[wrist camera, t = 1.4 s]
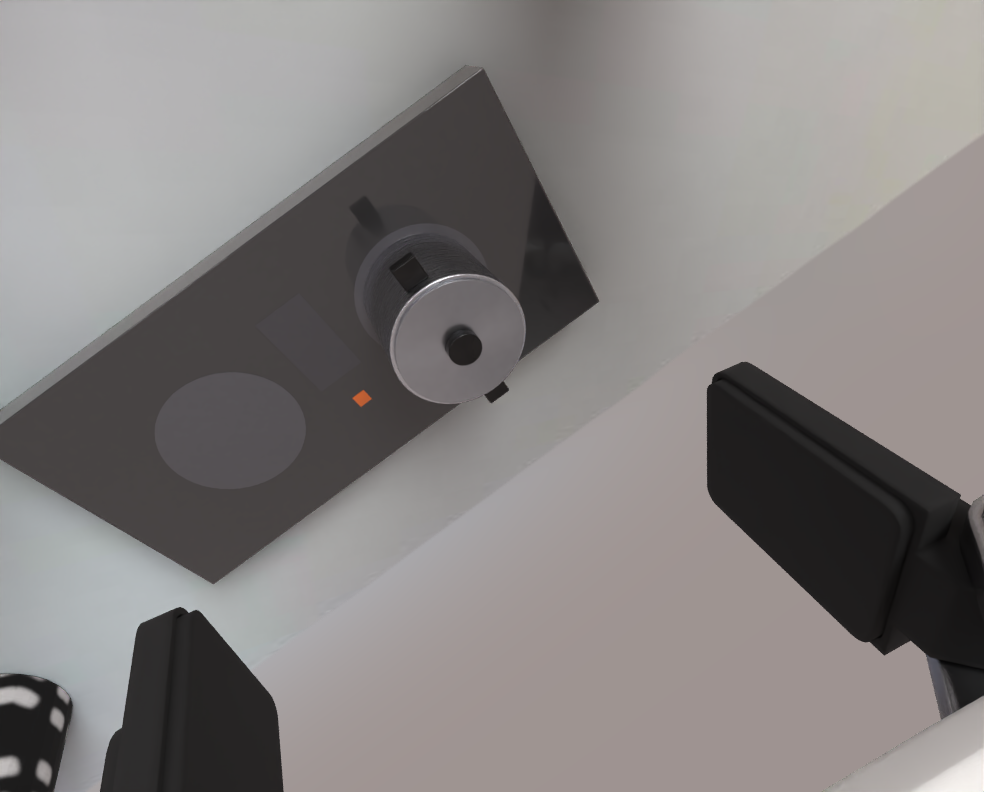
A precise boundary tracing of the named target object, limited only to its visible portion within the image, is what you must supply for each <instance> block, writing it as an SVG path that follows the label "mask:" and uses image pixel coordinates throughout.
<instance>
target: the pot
mask: <svg viewBox="0 0 984 792" xmlns="http://www.w3.org/2000/svg"><path fill="white" fill-rule="evenodd" d="M364 303H365V308H366V312H367V315H368V317H369V319H370V322H371V324H372V326H373V328H374V330H375V332H376V334H377V336H378V338H379V340H380V343H381V345H382V347H383V349H384V351H385V353H386V355H387V357H388V359H389V361H390V364H391V366H392V368H393V370H394V372H395V374H396V376H397V377H398V379H399V380H400V382H401V383H402V384H403V385H404V386H405V387H406V388H407V389H408V390H409V391H410V392H412V393H413V394H414V395H416V396H418V397H420V398H422V399H424V400H427V401H430V402H434V403H440V404H456V403H463V402H467V401H471V400H473V399H476V398H479V397H481V396H483V395H485V397H486V398H487V399H488V401H489V402H490V403H493V402H494V401H495V400H497V399H498V398H499V397H501V396H502V395H503V394H505V393H506V392H508V391H509V388H508V387H507V386H506V384H505V383H504V381H503V380H504V379H505V378H506V377H507V376H508V375H509V374H510V372H511V371H512V370H513V368H514V367H515V365H516V364H517V362H518V360H519V358H520V356H521V353H522V350H523V347H524V342H525V335H526V324H525V317H524V313H523V310H522V307H521V305H520V303H519V301H518V300H517V298H516V297H515V295H514V294H513V293H512V292H511V291H510V290H509V289H508V288H507V287H506V286H505V285H504V284H503V283H502V282H501V281H500V280H499V279H498V278H497V277H496V276H495V275H493V274H492V273H491V272H490V271H489V270H488V269H487V268H486V267H485V266H484V265H483V264H482V263H481V262H480V261H479V260H478V259H476V258H475V257H474V256H473V255H472V254H471V253H470V252H469V251H468V250H467V249H466V248H465V247H464V246H462V245H461V244H460V243H458V242H457V241H455V240H453V239H451V238H448V237H446V236H442V235H438V234H417V235H412V236H409V237H406V238H403V239H401V240H399V241H397V242H395V243H394V244H392V245H391V246H389V247H388V248H387V249H386V250H385V251H383V253H382V254H381V255H380V256H379V257H378V258H377V259H376V261H375V262H374V264H373V265H372V267H371V269H370V271H369V273H368V276H367V279H366V283H365V289H364Z"/></svg>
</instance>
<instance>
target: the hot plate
mask: <svg viewBox="0 0 984 792" xmlns="http://www.w3.org/2000/svg"><path fill="white" fill-rule="evenodd" d="M417 234H438V235H442V236H446V237H448V238H451V239H453V240H455V241H457V242H458V243H460V244H461V245H462V246H464V247H465V248H466V249H467V250H468V251H469V252H470V253H471V254H472V255H473V256H474V257H475V258H476V259H478V260H479V261H480V262H481V263H482V264H483V265H484V266H485V267H486V268H487V269H488V270H489V271H490V272H491V273H492V274H493V275H495V276H496V277H497V278H498V279H499V280H500V281H501V282H502V283H503V284H504V285H505V286H506V287H507V288H508V289H509V290H510V291H511V292H512V293H513V294H514V295H515V297H516V298H517V300H518V301H519V303H520V305H521V307H522V310H523V313H524V317H525V324H526V335H525V342H524V347H523V350H522V353H521V356H520V358H519V360H520V359H522V358H523V357H524V356H526V355H527V354H529V353H530V352H531V351H533V350H534V349H535V348H537V347H538V346H539V345H541V344H542V343H544V342H545V341H546V340H548V339H549V338H550V337H552V336H553V335H554V334H556V333H557V332H559V331H560V330H561V329H563V328H564V327H565V326H567V325H568V324H569V323H571V322H572V321H574V320H575V319H576V318H578V317H579V316H580V315H582V314H583V313H584V312H586V311H587V310H589V309H590V308H591V307H593V306H594V305H595V304H597V303H598V302H599V299H598V297H597V295H596V293H595V291H594V289H593V287H592V285H591V283H590V281H589V279H588V277H587V275H586V273H585V271H584V269H583V267H582V265H581V263H580V261H579V259H578V257H577V255H576V253H575V251H574V249H573V247H572V245H571V243H570V241H569V239H568V237H567V235H566V233H565V231H564V229H563V227H562V225H561V223H560V221H559V219H558V217H557V215H556V213H555V211H554V209H553V207H552V205H551V203H550V201H549V199H548V197H547V195H546V193H545V191H544V189H543V187H542V185H541V183H540V181H539V179H538V177H537V175H536V173H535V171H534V169H533V167H532V165H531V163H530V161H529V159H528V157H527V155H526V153H525V151H524V149H523V147H522V145H521V143H520V141H519V139H518V137H517V135H516V133H515V131H514V129H513V127H512V125H511V123H510V121H509V119H508V117H507V115H506V113H505V111H504V109H503V107H502V105H501V103H500V101H499V99H498V97H497V95H496V93H495V91H494V89H493V87H492V85H491V83H490V81H489V79H488V77H487V74H486V72H485V70H484V69H483V68H482V67H476V66H469V65H465V66H464V67H463V68H461V69H460V70H459V71H457V72H456V73H454V74H453V75H452V76H450V77H449V78H448V79H446V80H445V81H444V82H442V83H441V84H440V85H438V86H437V87H436V88H434V89H433V90H432V91H430V92H429V93H427V94H426V95H425V96H423V97H422V98H421V99H419V100H418V101H417V102H415V103H414V104H413V105H411V106H410V107H409V108H407V109H406V110H405V111H403V112H402V113H401V114H399V115H398V116H396V117H395V118H394V119H392V120H391V121H390V122H388V123H387V124H386V125H384V126H383V127H382V128H380V129H379V130H378V131H376V132H375V133H374V134H372V135H371V136H369V137H368V138H367V139H365V140H364V141H363V142H361V143H360V144H359V145H357V146H356V147H355V148H353V149H352V150H351V151H349V152H348V153H347V154H345V155H344V156H342V157H341V158H340V159H338V160H337V161H336V162H334V163H333V164H332V165H330V166H329V167H328V168H326V169H325V170H324V171H322V172H321V173H320V174H318V175H317V176H315V177H314V178H313V179H311V180H310V181H309V182H307V183H306V184H305V185H303V186H302V187H301V188H299V189H298V190H297V191H295V192H294V193H293V194H291V195H290V196H288V197H287V198H286V199H284V200H283V201H282V202H280V203H279V204H278V205H276V206H275V207H274V208H272V209H271V210H270V211H268V212H267V213H266V214H264V215H263V216H261V217H260V218H259V219H257V220H256V221H255V222H253V223H252V224H251V225H249V226H248V227H247V228H245V229H244V230H243V231H241V232H240V233H239V234H237V235H236V236H234V237H233V238H232V239H230V240H229V241H228V242H226V243H225V244H224V245H222V246H221V247H220V248H218V249H217V250H216V251H214V252H213V253H212V254H210V255H209V256H208V257H206V258H205V259H203V260H202V261H201V262H199V263H198V264H197V265H195V266H194V267H193V268H191V269H190V270H189V271H187V272H186V273H185V274H183V275H182V276H181V277H179V278H178V279H176V280H175V281H174V282H172V283H171V284H170V285H168V286H167V287H166V288H164V289H163V290H162V291H160V292H159V293H158V294H156V295H155V296H154V297H152V298H151V299H149V300H148V301H147V302H145V303H144V304H143V305H141V306H140V307H139V308H137V309H136V310H135V311H133V312H132V313H131V314H129V315H128V316H127V317H125V318H124V319H122V320H121V321H120V322H118V323H117V324H116V325H114V326H113V327H112V328H110V329H109V330H108V331H106V332H105V333H104V334H102V335H101V336H100V337H98V338H97V339H95V340H94V341H93V342H91V343H90V344H89V345H87V346H86V347H85V348H83V349H82V350H81V351H79V352H78V353H77V354H75V355H74V356H73V357H71V358H70V359H68V360H67V361H66V362H64V363H63V364H62V365H60V366H59V367H58V368H56V369H55V370H54V371H52V372H51V373H50V374H48V375H47V376H46V377H44V378H43V379H42V380H40V381H39V382H37V383H36V384H35V385H33V386H32V387H31V388H29V389H28V390H27V391H25V392H24V393H23V394H21V395H20V396H19V397H17V398H16V399H15V400H13V401H12V402H10V403H9V404H8V405H6V406H5V407H4V408H2V409H1V410H0V459H1V460H2V461H4V462H6V463H7V464H9V465H11V466H13V467H14V468H16V469H18V470H19V471H21V472H23V473H24V474H26V475H28V476H30V477H31V478H33V479H35V480H36V481H38V482H40V483H42V484H43V485H45V486H47V487H48V488H50V489H52V490H53V491H55V492H57V493H59V494H60V495H62V496H64V497H65V498H67V499H69V500H71V501H72V502H74V503H76V504H77V505H79V506H81V507H82V508H84V509H86V510H88V511H89V512H91V513H93V514H94V515H96V516H98V517H100V518H101V519H103V520H105V521H106V522H108V523H110V524H111V525H113V526H115V527H117V528H118V529H120V530H122V531H123V532H125V533H127V534H129V535H130V536H132V537H134V538H135V539H137V540H139V541H141V542H142V543H144V544H146V545H147V546H149V547H151V548H152V549H154V550H156V551H158V552H159V553H161V554H163V555H164V556H166V557H168V558H170V559H171V560H173V561H175V562H176V563H178V564H180V565H181V566H183V567H185V568H187V569H188V570H190V571H192V572H193V573H195V574H197V575H199V576H200V577H202V578H204V579H205V580H207V581H209V582H210V583H212V584H215V583H216V582H217V581H219V580H220V579H222V578H223V577H224V576H226V575H227V574H228V573H230V572H231V571H232V570H234V569H235V568H237V567H238V566H239V565H241V564H242V563H243V562H245V561H246V560H247V559H249V558H250V557H252V556H253V555H254V554H256V553H257V552H258V551H260V550H261V549H262V548H264V547H265V546H267V545H268V544H269V543H271V542H272V541H273V540H275V539H276V538H277V537H279V536H280V535H282V534H283V533H284V532H286V531H287V530H288V529H290V528H291V527H292V526H294V525H295V524H297V523H298V522H299V521H301V520H302V519H303V518H305V517H306V516H307V515H309V514H310V513H312V512H313V511H314V510H316V509H317V508H318V507H320V506H321V505H322V504H324V503H325V502H327V501H328V500H329V499H331V498H332V497H333V496H335V495H336V494H337V493H339V492H340V491H342V490H343V489H344V488H346V487H347V486H348V485H350V484H351V483H352V482H354V481H355V480H357V479H358V478H359V477H361V476H362V475H363V474H365V473H366V472H368V471H369V470H370V469H372V468H373V467H374V466H376V465H377V464H378V463H380V462H381V461H383V460H384V459H385V458H387V457H388V456H389V455H391V454H392V453H393V452H395V451H396V450H398V449H399V448H400V447H402V446H403V445H404V444H406V443H407V442H408V441H410V440H411V439H413V438H414V437H415V436H417V435H418V434H419V433H421V432H422V431H423V430H425V429H426V428H428V427H429V426H430V425H432V424H433V423H434V422H436V421H437V420H438V419H440V418H441V417H443V416H444V415H445V414H447V413H448V412H449V411H451V410H452V409H453V408H455V407H456V406H458V405H459V404H460V403H456V404H440V403H434V402H430V401H427V400H424V399H422V398H420V397H418V396H416V395H414V394H413V393H412V392H410V391H409V390H408V389H407V388H406V387H405V386H404V385H403V384H402V383H401V382H400V380H399V379H398V377H397V376H396V374H395V372H394V370H393V368H392V366H391V364H390V361H389V359H388V357H387V355H386V353H385V351H384V349H383V347H382V345H381V343H380V340H379V338H378V336H377V334H376V332H375V330H374V328H373V326H372V324H371V322H370V319H369V317H368V315H367V312H366V308H365V303H364V289H365V283H366V279H367V276H368V273H369V271H370V269H371V267H372V265H373V264H374V262H375V261H376V259H377V258H378V257H379V256H380V255H381V254H382V253H383V251H385V250H386V249H387V248H388V247H389V246H391V245H392V244H394V243H395V242H397V241H399V240H401V239H403V238H406V237H409V236H412V235H417ZM519 360H518V361H519Z"/></svg>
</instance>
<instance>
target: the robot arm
mask: <svg viewBox="0 0 984 792" xmlns="http://www.w3.org/2000/svg"><path fill="white" fill-rule="evenodd" d="M707 487H708V492H709V494H710V496H711V498H712V500H713V501H714V503H715V504H716V505H717V506H718V507H719V508H720V509H721V510H722V511H723V512H724V513H725V514H726V515H727V516H728V517H729V518H730V519H731V520H733V521H734V522H735V523H736V524H737V525H738V526H739V527H740V528H741V529H742V530H743V531H744V532H745V533H746V534H747V535H748V536H749V537H750V538H751V539H752V540H753V541H754V542H756V543H757V544H758V545H759V546H760V547H761V548H762V549H763V550H764V551H765V552H766V553H767V554H768V555H769V556H770V557H771V558H772V559H773V560H774V561H775V562H777V564H778V565H780V566H781V567H782V568H783V569H784V570H785V571H786V572H787V573H788V574H789V575H790V576H791V577H792V578H793V579H794V580H795V581H796V582H797V583H798V584H799V585H800V586H801V587H803V588H804V589H805V590H806V591H807V592H808V593H809V594H810V595H811V596H812V597H813V598H814V599H815V600H816V601H817V602H818V603H819V604H820V605H821V606H822V607H823V608H824V609H826V611H828V612H829V613H830V614H831V615H832V616H833V617H834V618H835V619H836V620H837V621H838V622H839V623H840V624H841V625H842V626H843V627H844V628H846V630H848V632H850V634H852V635H853V636H854V637H855V638H857V639H858V640H860V641H862V642H870V643H872V644H873V645H874V646H875V647H876V648H877V649H878V650H879V651H880V652H881V653H882V654H883V655H886V654H888V653H889V652H891V651H893V650H895V649H896V648H898V647H900V646H902V645H903V644H905V643H907V642H909V641H910V640H911V641H912V642H913V643H914V644H915V645H916V646H918V647H919V648H920V649H921V650H922V651H923V652H924V653H925V654H926V657H927V661H928V665H929V670H930V674H931V678H932V683H933V687H934V691H935V696H936V700H937V704H938V708H939V713H940V717H941V720H940V721H939V722H937V723H935V724H933V725H932V726H930V727H928V728H926V729H925V730H923V731H922V732H920V733H918V734H916V735H915V736H913V737H911V738H910V739H908V740H907V741H905V742H903V743H901V744H900V745H898V746H896V747H895V748H893V749H892V750H890V751H888V752H887V753H885V754H883V755H882V756H880V757H878V758H877V759H875V760H873V761H872V762H870V763H868V764H867V765H865V766H863V767H862V768H860V769H859V770H857V771H855V772H853V773H852V774H850V775H849V776H847V777H845V778H843V779H842V780H840V781H838V782H837V783H835V784H833V785H832V786H830V787H828V788H827V789H825V790H823V791H822V792H984V495H982V496H981V497H979V498H978V499H976V500H975V501H973V503H972V505H969V504H968V503H966V502H964V501H963V500H961V499H960V496H961V495H960V494H959V493H957V492H956V491H954V490H952V489H951V488H949V487H948V486H946V485H944V484H943V483H941V482H940V481H938V480H936V479H935V478H933V477H931V476H930V475H928V474H927V473H925V472H924V471H922V470H920V469H919V468H917V467H915V466H914V465H912V464H911V463H909V462H908V461H906V460H904V459H903V458H901V457H900V456H898V455H896V454H895V453H893V452H891V451H890V450H888V449H887V448H885V447H883V446H882V445H880V444H879V443H877V442H875V441H874V440H872V439H871V438H869V437H867V436H866V435H864V434H863V433H861V432H859V431H858V430H856V429H855V428H853V427H852V426H850V425H848V424H847V423H845V422H844V421H842V420H840V419H839V418H837V417H835V416H834V415H832V414H831V413H829V412H828V411H826V410H824V409H823V408H821V407H820V406H818V405H816V404H815V403H813V402H812V401H810V400H808V399H807V398H805V397H804V396H802V395H800V394H798V393H797V392H796V391H794V390H792V389H791V388H789V387H788V386H786V385H784V384H783V383H781V382H780V381H778V380H776V379H775V378H773V377H772V376H770V375H768V374H767V373H765V372H763V371H762V370H760V369H759V368H757V367H756V366H754V365H752V364H750V363H748V362H741V363H739V364H737V365H734V366H732V367H730V368H727V369H725V370H723V371H720V372H718V373H716V374H715V375H714V377H713V379H712V384H711V385H709V386H708V388H707ZM100 792H283V779H282V766H281V752H280V739H279V726H278V715H277V710H276V706H275V703H274V701H273V699H272V697H271V695H270V694H269V693H268V691H267V690H266V689H265V688H264V687H263V686H262V684H261V683H260V682H259V681H258V679H257V678H256V677H255V676H254V675H253V674H252V672H251V671H250V670H249V669H248V668H247V666H246V665H245V664H244V663H243V662H242V661H241V659H240V658H239V657H238V656H237V655H236V653H235V652H234V651H233V650H232V649H231V647H230V646H229V645H228V644H227V643H226V642H225V640H224V639H223V638H222V637H221V636H220V634H219V633H218V632H217V631H216V630H215V629H214V627H213V626H212V625H211V624H210V623H209V621H208V620H207V619H206V618H205V617H204V616H203V614H202V613H201V612H200V611H197V610H195V611H192V612H190V613H188V612H187V611H186V610H185V609H184V608H181V607H179V608H176V609H173V610H171V611H169V612H166V613H164V614H162V615H160V616H157V617H155V618H153V619H150V620H148V621H146V622H143V623H141V624H140V626H139V627H138V629H137V633H136V638H135V645H134V652H133V658H132V665H131V672H130V678H129V685H128V692H127V698H126V705H125V712H124V718H123V725H122V728H121V729H119V730H118V731H116V732H115V734H114V735H113V737H112V738H111V740H110V742H109V746H108V749H107V753H106V759H105V765H104V771H103V777H102V783H101V789H100Z"/></svg>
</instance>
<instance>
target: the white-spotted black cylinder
mask: <svg viewBox="0 0 984 792" xmlns="http://www.w3.org/2000/svg"><path fill="white" fill-rule="evenodd" d="M72 706H73V705H72V702H71V698H70V697H69V695H68V694H67V693H66V691H64V690H63V689H62V688H61V687H59V686H58V685H56V684H54V683H52V682H50V681H48V680H45V679H42V678H38V677H34V676H28V675H21V674H0V792H54V789H55V784H56V780H57V776H58V771H59V767H60V763H61V758H62V754H63V750H64V745H65V741H66V737H67V732H68V728H69V723H70V719H71V715H72Z"/></svg>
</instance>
